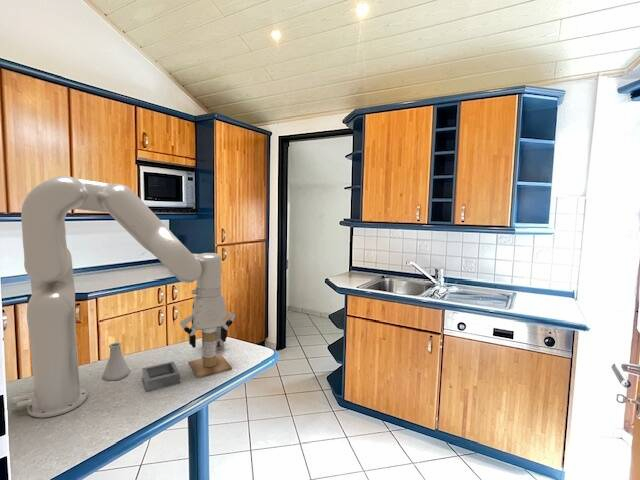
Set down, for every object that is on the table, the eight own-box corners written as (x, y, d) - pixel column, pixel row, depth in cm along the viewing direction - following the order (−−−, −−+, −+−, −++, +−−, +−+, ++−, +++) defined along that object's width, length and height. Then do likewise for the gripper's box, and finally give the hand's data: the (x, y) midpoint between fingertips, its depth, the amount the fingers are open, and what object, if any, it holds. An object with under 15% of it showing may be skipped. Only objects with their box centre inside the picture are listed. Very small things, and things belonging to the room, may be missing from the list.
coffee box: (201, 345, 131) (200, 303, 129) (218, 342, 134) (218, 301, 132) (206, 355, 123) (206, 311, 121) (225, 352, 127) (225, 308, 125)
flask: (134, 370, 112) (133, 340, 110) (119, 382, 105) (118, 350, 103) (113, 368, 112) (112, 338, 111) (97, 380, 105) (95, 348, 104)
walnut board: (197, 378, 108) (197, 376, 108) (188, 363, 117) (188, 361, 117) (232, 369, 114) (232, 367, 114) (221, 356, 123) (221, 354, 123)
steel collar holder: (146, 391, 100) (146, 381, 100) (142, 377, 108) (142, 368, 107) (180, 383, 105) (179, 373, 105) (173, 370, 113) (173, 361, 112)
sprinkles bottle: (205, 360, 118) (204, 322, 116) (218, 361, 117) (218, 322, 116) (199, 367, 113) (199, 327, 112) (213, 368, 113) (213, 327, 111)
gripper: (183, 298, 104) (183, 353, 106) (239, 291, 114) (238, 342, 116) (177, 292, 111) (177, 344, 113) (231, 286, 120) (230, 334, 122)
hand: (208, 343), depth 114 cm, fingers open, 9 cm apart
